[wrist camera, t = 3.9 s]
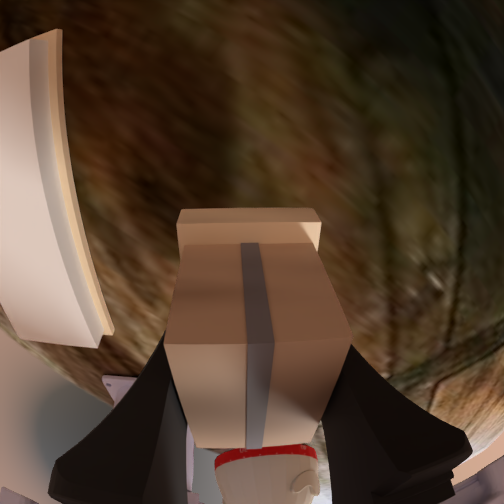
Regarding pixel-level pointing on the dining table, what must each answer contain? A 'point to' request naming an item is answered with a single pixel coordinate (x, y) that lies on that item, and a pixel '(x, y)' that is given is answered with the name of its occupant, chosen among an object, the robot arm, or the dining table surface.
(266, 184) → the dining table surface
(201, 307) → the taped parcel
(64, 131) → the dock
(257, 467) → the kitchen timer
